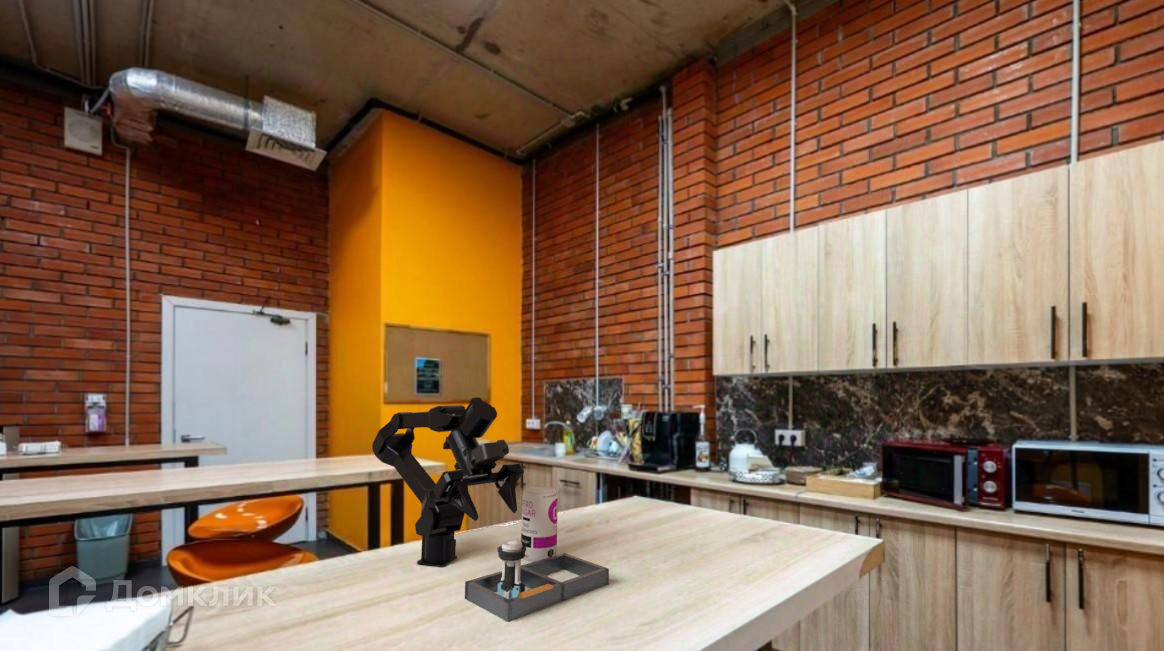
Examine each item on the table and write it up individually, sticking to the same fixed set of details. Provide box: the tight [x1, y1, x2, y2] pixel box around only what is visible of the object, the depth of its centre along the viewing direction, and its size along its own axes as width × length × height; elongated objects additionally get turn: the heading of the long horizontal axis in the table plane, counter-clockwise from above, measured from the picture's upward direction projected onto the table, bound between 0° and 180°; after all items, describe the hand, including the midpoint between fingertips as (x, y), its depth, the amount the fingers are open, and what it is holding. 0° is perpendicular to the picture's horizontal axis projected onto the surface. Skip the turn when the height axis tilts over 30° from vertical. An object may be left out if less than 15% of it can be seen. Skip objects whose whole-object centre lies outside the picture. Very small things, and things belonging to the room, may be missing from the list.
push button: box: [496, 539, 526, 599], centre depth 102 cm, size 7×5×10 cm
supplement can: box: [520, 486, 559, 563], centre depth 126 cm, size 8×8×15 cm
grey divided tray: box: [464, 552, 610, 622], centre depth 105 cm, size 13×25×3 cm, turn 135°
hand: (496, 515), depth 108 cm, fingers open, 9 cm apart
